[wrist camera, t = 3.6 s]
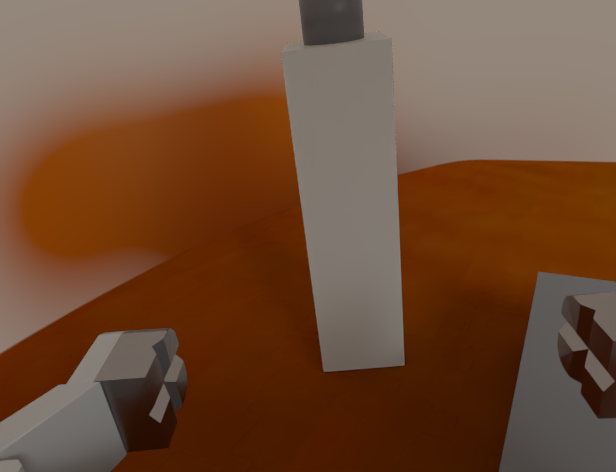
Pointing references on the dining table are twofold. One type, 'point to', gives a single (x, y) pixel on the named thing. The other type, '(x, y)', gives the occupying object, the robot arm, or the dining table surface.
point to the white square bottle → (347, 182)
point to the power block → (555, 395)
